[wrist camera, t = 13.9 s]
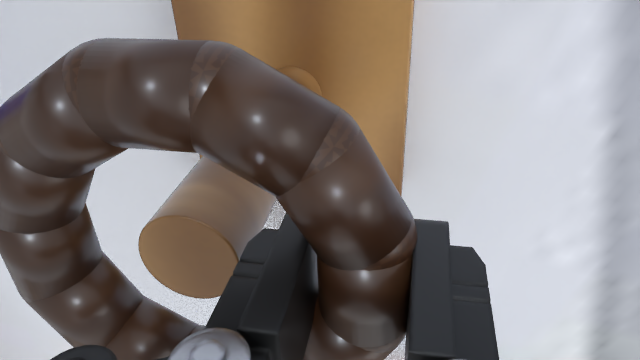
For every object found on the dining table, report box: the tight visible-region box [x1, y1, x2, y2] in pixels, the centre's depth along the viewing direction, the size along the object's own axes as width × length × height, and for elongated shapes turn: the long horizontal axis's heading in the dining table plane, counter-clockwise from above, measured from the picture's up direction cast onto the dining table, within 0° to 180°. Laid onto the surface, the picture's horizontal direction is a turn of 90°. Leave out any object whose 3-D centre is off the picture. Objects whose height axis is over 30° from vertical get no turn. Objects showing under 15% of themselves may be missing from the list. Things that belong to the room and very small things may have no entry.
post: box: [139, 0, 414, 298], centre depth 15 cm, size 9×9×11 cm
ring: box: [0, 38, 417, 360], centre depth 11 cm, size 10×10×2 cm
